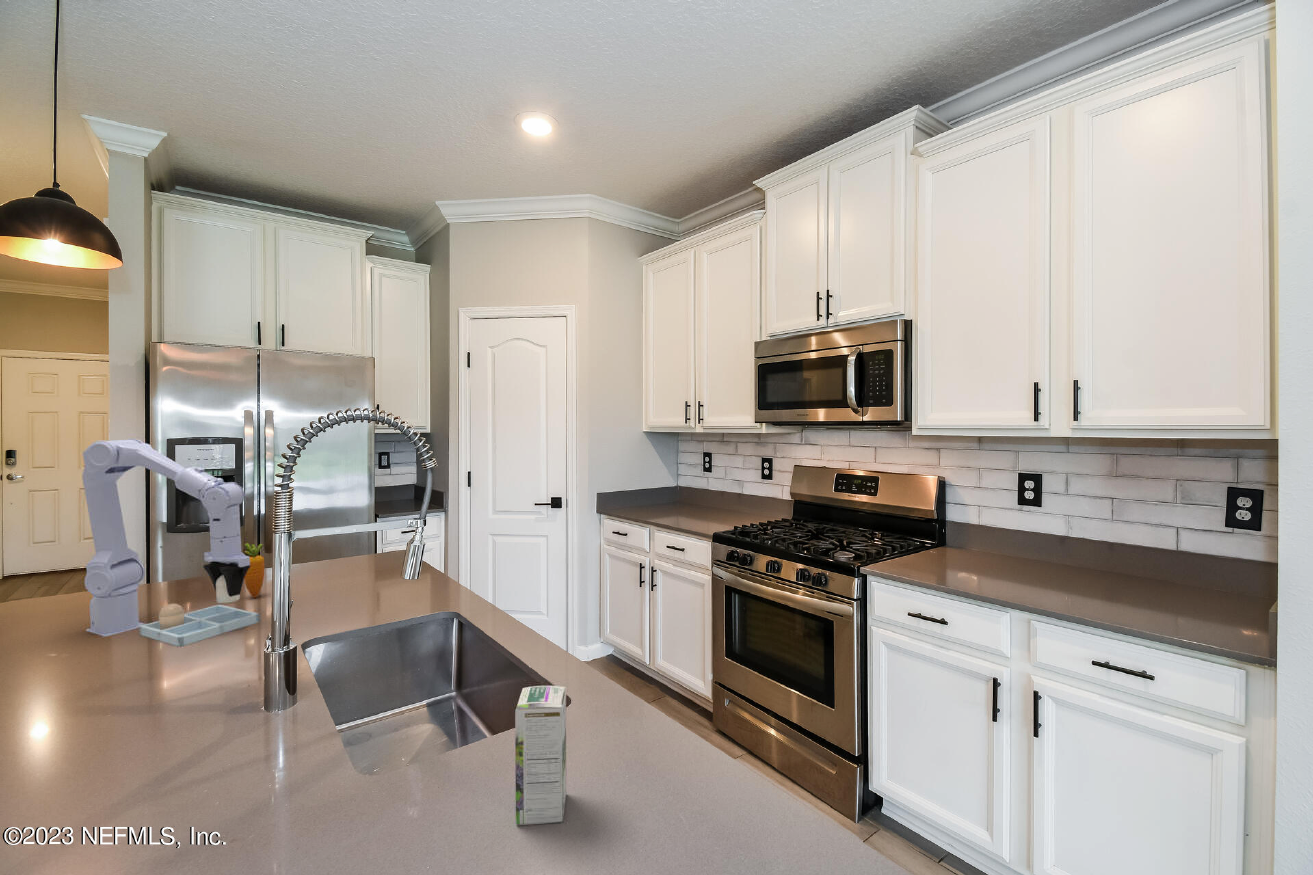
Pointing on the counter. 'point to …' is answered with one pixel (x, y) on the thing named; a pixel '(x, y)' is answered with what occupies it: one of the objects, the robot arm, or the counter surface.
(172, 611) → the brown egg
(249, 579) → the carrot
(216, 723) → the counter surface
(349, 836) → the counter surface
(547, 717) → the syrup box
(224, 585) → the cream egg
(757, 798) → the counter surface
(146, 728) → the counter surface
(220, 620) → the divided tray
